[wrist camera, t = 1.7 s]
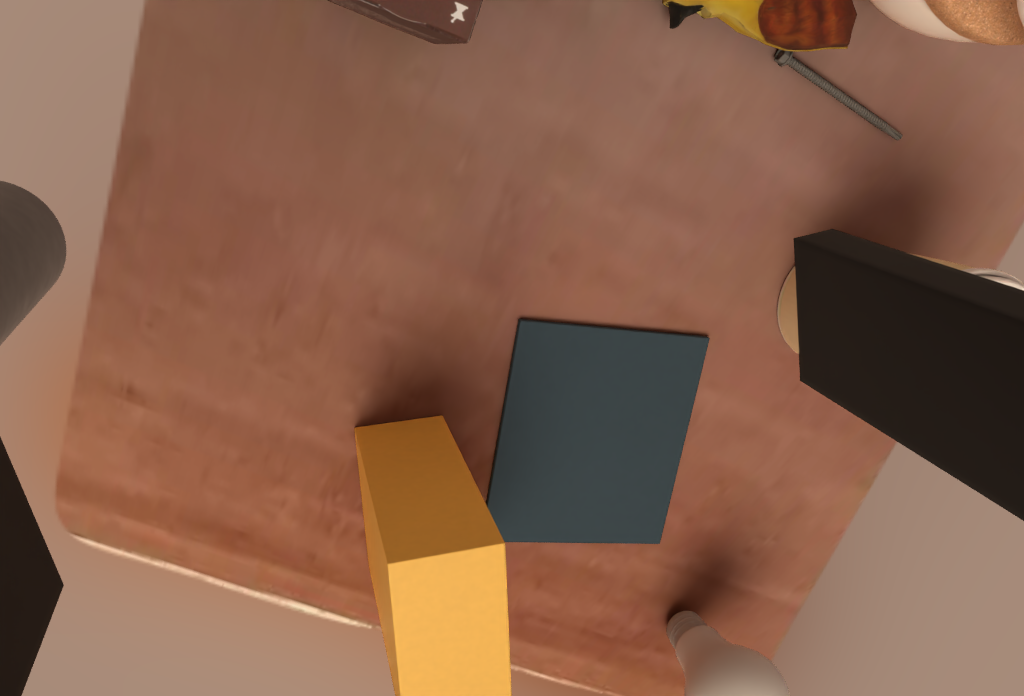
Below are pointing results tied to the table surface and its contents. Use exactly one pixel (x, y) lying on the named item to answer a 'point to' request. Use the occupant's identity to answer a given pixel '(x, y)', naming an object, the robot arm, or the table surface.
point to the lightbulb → (720, 662)
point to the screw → (834, 92)
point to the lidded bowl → (958, 19)
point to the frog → (1021, 10)
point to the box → (422, 17)
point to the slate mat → (592, 432)
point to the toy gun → (777, 20)
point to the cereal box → (433, 562)
